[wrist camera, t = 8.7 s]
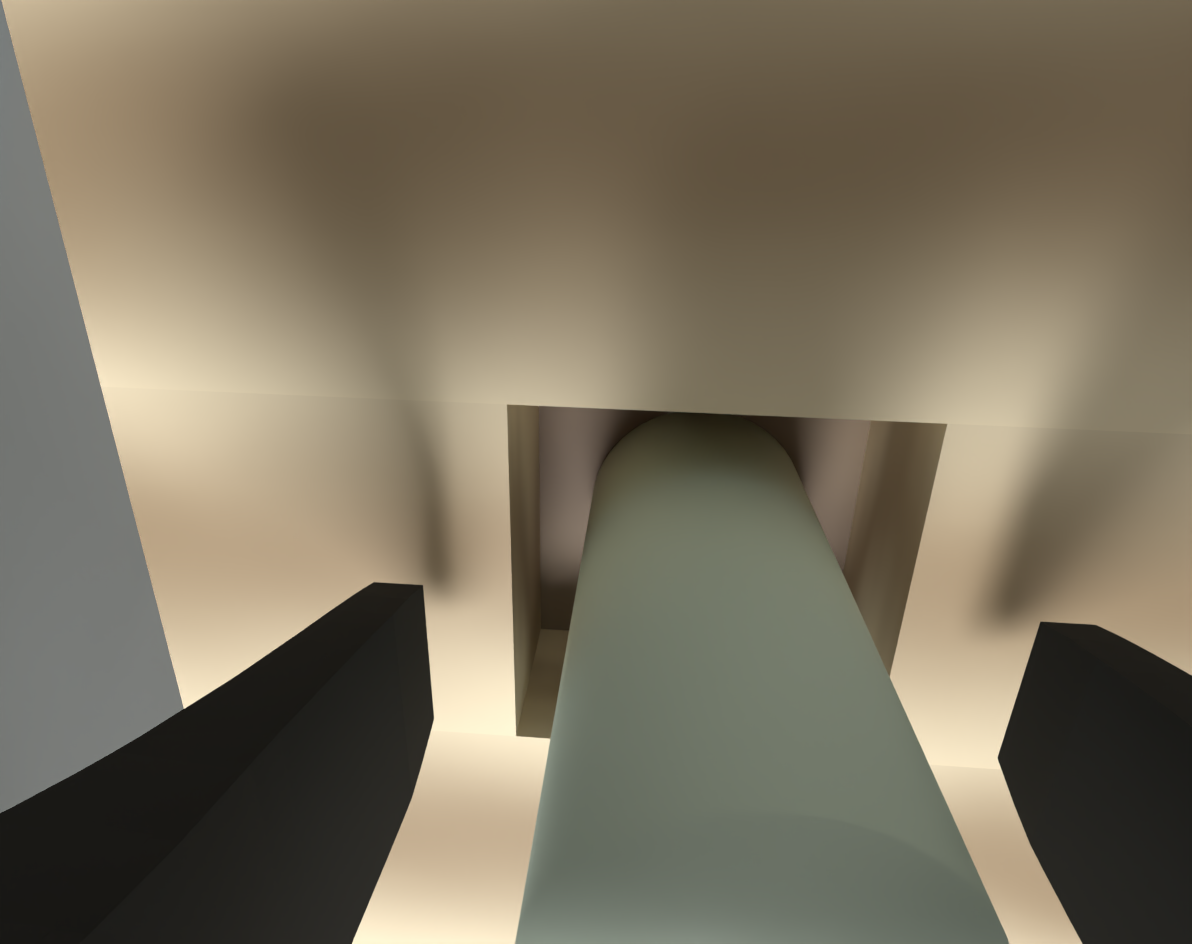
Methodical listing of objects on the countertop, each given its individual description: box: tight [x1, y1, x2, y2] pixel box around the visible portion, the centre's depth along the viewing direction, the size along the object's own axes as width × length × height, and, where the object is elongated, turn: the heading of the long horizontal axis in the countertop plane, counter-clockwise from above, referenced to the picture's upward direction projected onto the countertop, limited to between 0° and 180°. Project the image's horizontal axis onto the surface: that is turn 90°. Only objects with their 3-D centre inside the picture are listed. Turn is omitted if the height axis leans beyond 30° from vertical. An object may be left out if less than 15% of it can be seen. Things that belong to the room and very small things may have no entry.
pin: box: [515, 412, 1009, 944], centre depth 9 cm, size 4×4×8 cm
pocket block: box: [2, 0, 1192, 944], centre depth 12 cm, size 16×16×3 cm
